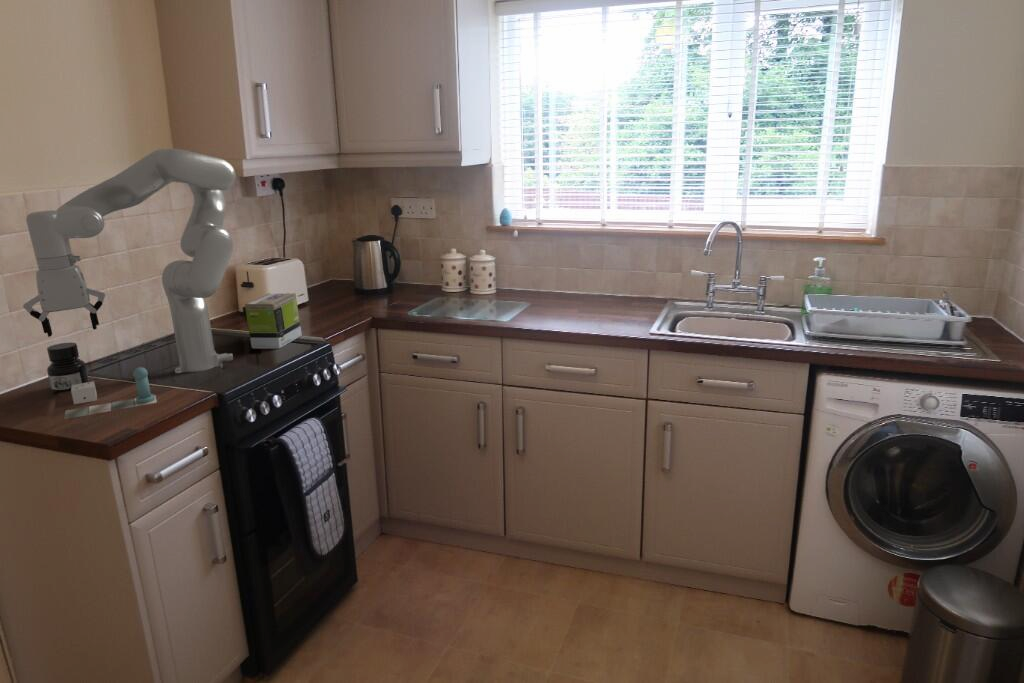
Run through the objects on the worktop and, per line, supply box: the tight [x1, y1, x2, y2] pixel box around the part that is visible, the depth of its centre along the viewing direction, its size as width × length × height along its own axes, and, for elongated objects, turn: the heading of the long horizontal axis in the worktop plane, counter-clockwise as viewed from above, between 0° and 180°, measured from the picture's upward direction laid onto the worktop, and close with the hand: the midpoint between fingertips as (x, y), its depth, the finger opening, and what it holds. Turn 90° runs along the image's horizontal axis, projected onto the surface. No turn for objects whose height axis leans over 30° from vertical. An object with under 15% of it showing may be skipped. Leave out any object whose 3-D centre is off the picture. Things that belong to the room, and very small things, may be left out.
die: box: [70, 380, 98, 405], centre depth 183 cm, size 5×5×5 cm
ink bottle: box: [46, 342, 90, 394], centre depth 195 cm, size 10×9×12 cm
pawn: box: [132, 366, 155, 403], centre depth 179 cm, size 4×4×9 cm
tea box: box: [244, 292, 303, 350], centre depth 231 cm, size 15×10×15 cm, turn 168°
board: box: [63, 394, 158, 420], centre depth 177 cm, size 20×7×1 cm, turn 118°
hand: (72, 331), depth 179 cm, fingers open, 9 cm apart
